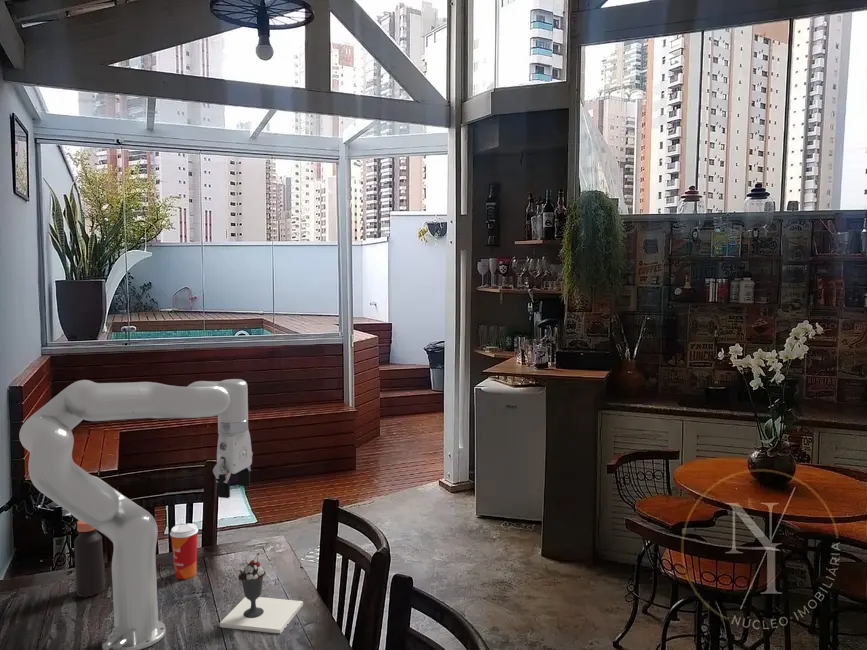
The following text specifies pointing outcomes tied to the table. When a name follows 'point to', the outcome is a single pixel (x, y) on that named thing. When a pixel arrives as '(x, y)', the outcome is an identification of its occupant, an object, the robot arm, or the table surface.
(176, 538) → the paper cup
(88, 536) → the bottle
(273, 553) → the table surface
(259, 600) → the board
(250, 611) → the sundae
